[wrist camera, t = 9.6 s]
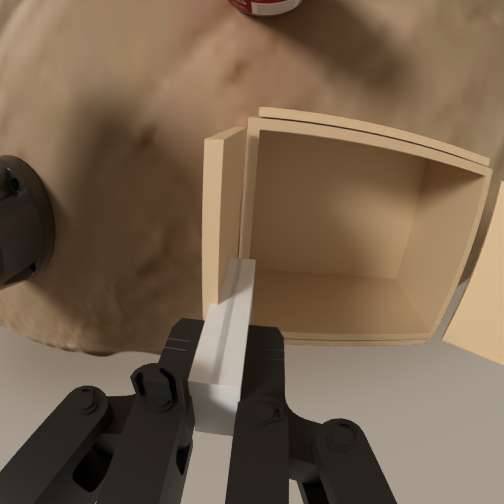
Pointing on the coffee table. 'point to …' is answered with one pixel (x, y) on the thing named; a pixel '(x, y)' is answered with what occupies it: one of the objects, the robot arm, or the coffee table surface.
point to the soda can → (265, 6)
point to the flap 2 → (484, 295)
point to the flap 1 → (220, 209)
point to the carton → (355, 227)
